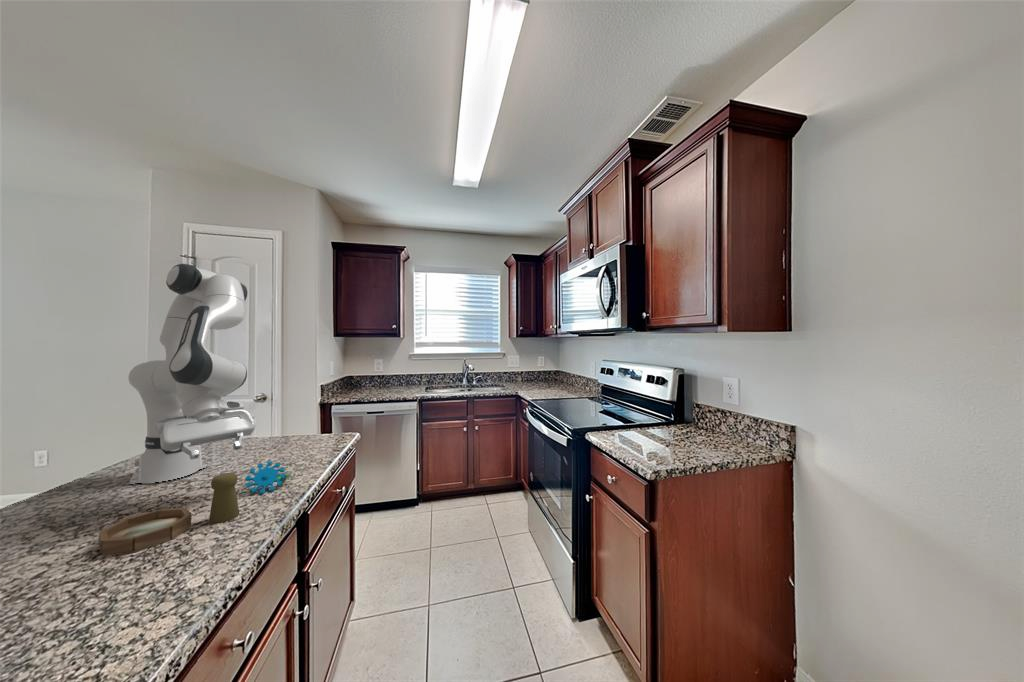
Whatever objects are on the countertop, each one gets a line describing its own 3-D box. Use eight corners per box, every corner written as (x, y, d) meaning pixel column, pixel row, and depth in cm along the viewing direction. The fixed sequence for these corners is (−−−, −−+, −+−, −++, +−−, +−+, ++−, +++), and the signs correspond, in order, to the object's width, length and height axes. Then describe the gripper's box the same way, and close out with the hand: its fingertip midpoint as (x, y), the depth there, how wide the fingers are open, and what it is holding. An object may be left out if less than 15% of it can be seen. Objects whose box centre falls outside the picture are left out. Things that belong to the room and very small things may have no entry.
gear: (240, 493, 97) (250, 460, 104) (241, 502, 101) (250, 470, 108) (286, 490, 103) (292, 459, 109) (285, 499, 106) (291, 468, 113)
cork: (238, 509, 91) (238, 468, 91) (241, 517, 87) (241, 474, 87) (207, 517, 87) (207, 474, 87) (209, 526, 82) (209, 481, 83)
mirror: (97, 539, 77) (97, 526, 77) (182, 514, 88) (182, 503, 88) (103, 562, 69) (103, 547, 69) (195, 531, 80) (195, 519, 80)
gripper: (156, 412, 89) (168, 456, 84) (249, 401, 106) (263, 437, 101) (151, 427, 91) (162, 471, 86) (243, 414, 109) (256, 450, 103)
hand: (217, 452), depth 94 cm, fingers open, 8 cm apart
